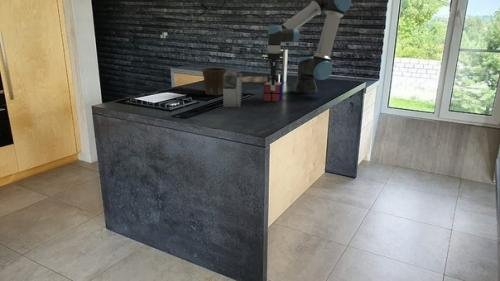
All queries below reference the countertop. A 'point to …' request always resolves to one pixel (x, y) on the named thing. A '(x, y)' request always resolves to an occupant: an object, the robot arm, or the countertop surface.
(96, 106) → the countertop surface
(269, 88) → the puzzle cube
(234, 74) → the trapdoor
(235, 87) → the bracket
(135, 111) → the countertop surface
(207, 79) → the plant pot
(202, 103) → the countertop surface
